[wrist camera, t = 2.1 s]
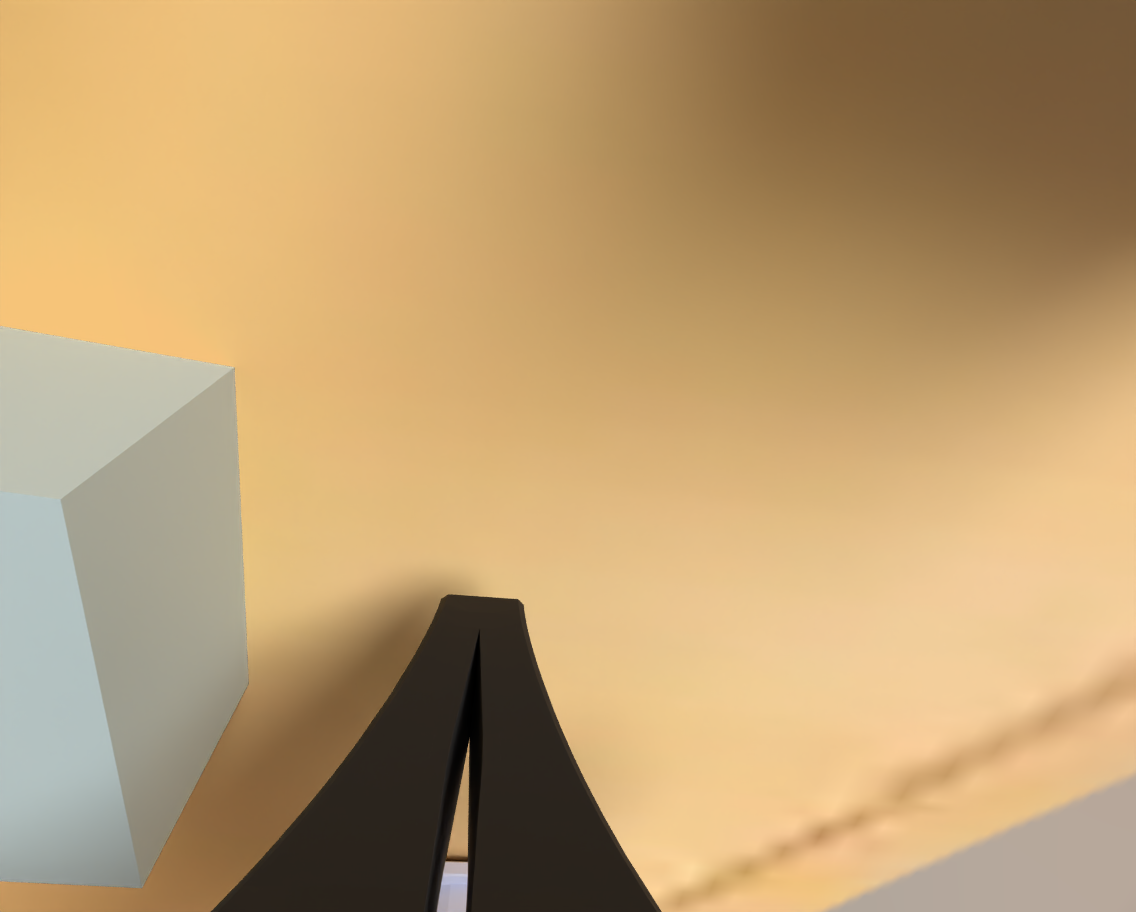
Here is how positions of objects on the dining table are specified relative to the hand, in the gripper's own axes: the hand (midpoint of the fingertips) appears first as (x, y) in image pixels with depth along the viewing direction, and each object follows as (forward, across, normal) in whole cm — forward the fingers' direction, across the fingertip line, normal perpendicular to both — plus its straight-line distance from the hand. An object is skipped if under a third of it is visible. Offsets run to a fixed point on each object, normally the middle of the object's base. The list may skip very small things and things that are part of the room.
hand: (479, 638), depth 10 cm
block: (+2, +8, 0) cm, 8 cm away
